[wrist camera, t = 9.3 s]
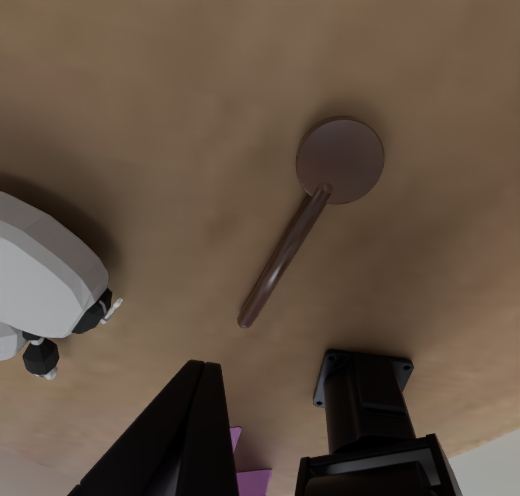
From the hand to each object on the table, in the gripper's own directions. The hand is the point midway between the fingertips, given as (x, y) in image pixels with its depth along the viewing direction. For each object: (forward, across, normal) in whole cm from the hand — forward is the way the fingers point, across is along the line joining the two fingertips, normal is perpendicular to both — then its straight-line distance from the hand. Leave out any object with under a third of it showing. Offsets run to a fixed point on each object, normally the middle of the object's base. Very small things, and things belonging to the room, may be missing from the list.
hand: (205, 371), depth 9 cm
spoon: (+12, -2, +2) cm, 12 cm away
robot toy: (+12, +15, +8) cm, 21 cm away
